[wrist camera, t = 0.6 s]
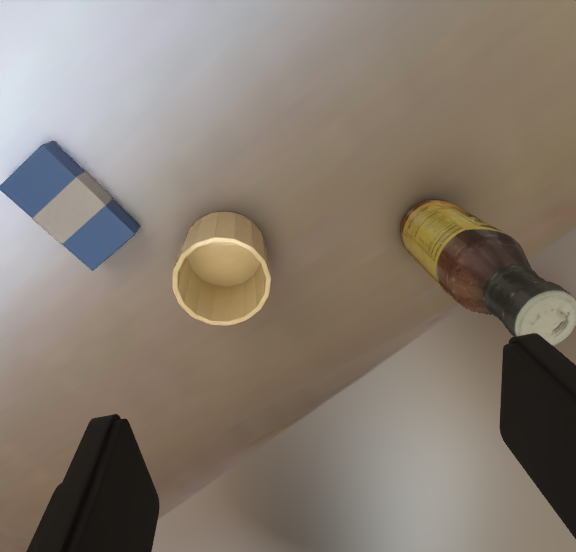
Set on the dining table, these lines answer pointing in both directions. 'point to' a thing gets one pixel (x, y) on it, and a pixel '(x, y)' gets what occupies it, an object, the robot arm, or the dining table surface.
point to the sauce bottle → (486, 271)
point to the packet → (70, 205)
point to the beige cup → (222, 269)
